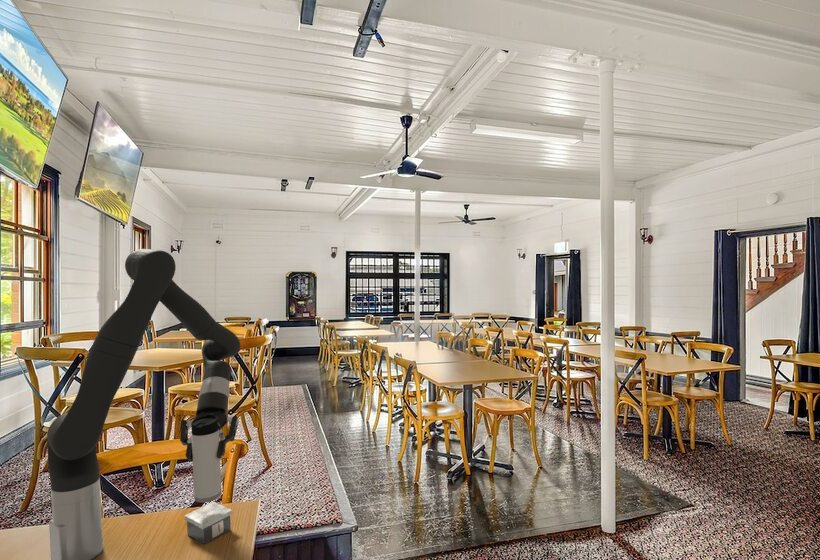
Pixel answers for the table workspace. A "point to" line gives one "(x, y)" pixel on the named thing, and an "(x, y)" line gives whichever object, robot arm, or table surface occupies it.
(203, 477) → the travel mug
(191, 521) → the lidded box with label
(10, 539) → the table surface
